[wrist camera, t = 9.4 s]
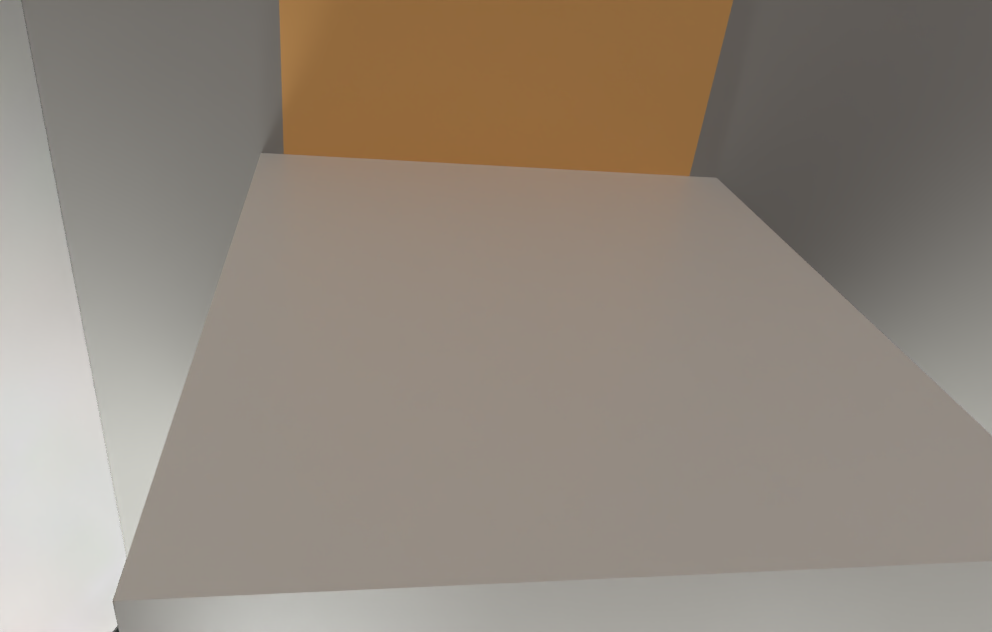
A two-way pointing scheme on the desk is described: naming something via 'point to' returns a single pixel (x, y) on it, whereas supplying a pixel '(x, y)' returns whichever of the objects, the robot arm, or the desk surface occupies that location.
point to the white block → (547, 423)
